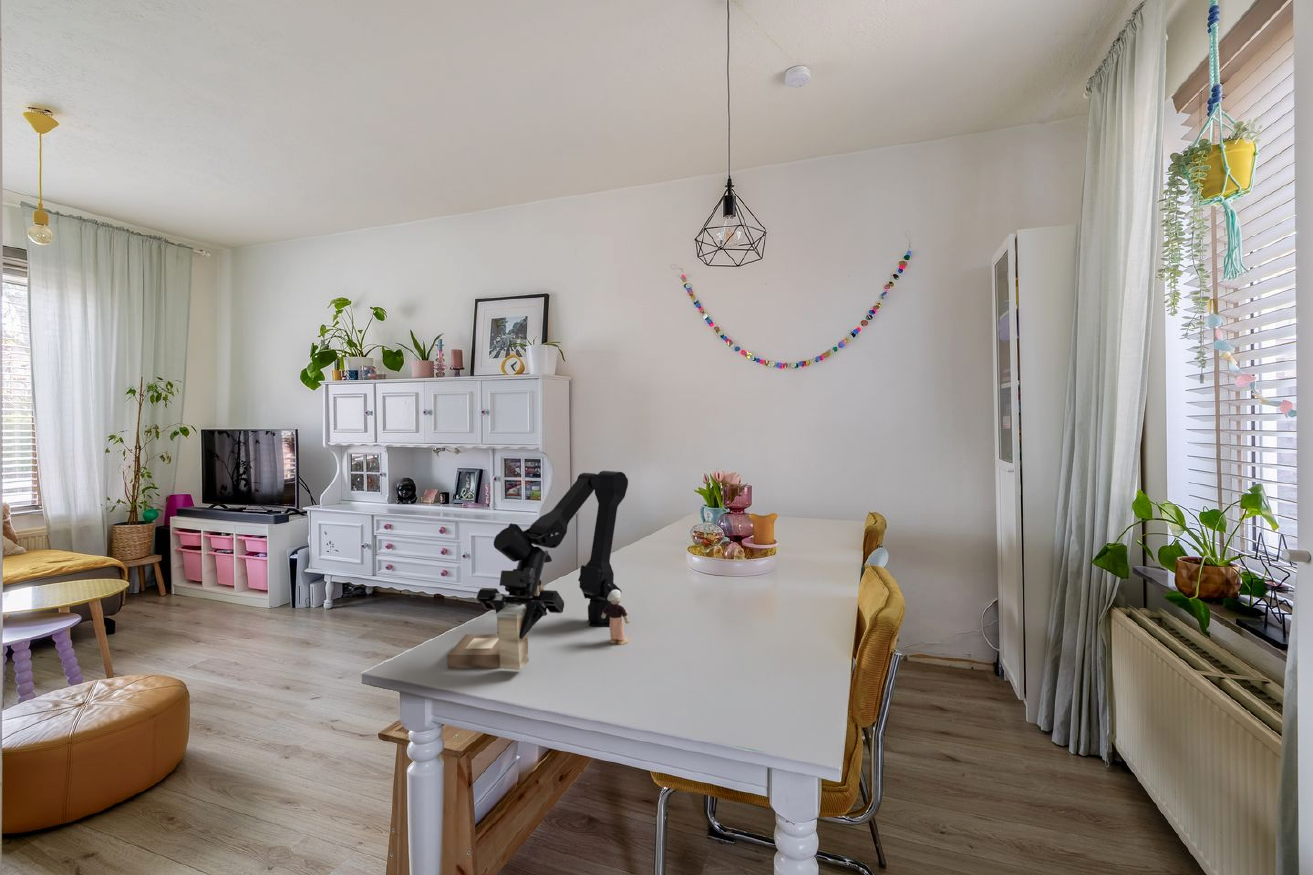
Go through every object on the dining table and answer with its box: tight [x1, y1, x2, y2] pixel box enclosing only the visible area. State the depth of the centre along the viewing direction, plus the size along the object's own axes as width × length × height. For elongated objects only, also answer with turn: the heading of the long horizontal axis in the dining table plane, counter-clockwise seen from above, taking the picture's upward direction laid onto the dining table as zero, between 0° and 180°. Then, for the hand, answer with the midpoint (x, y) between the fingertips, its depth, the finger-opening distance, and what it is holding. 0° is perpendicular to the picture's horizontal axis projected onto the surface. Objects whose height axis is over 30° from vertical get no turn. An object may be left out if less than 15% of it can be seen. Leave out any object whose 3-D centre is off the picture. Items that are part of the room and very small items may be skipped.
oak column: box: [496, 605, 530, 671], centre depth 141 cm, size 5×5×12 cm
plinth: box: [446, 633, 500, 669], centre depth 151 cm, size 12×12×3 cm
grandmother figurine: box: [601, 589, 630, 646], centre depth 157 cm, size 8×4×13 cm, turn 71°
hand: (510, 637), depth 140 cm, fingers closed on oak column, 4 cm apart
